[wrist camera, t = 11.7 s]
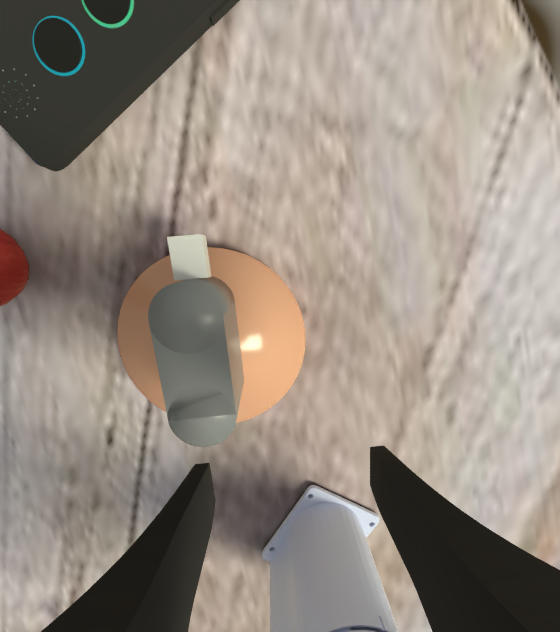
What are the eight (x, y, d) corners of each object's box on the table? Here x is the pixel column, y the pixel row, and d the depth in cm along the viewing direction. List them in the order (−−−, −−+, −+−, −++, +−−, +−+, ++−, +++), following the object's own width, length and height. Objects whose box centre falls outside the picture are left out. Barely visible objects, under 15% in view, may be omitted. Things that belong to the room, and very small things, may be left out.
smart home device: (-74, 46, 15) (184, -245, 13) (-39, 68, 16) (194, -186, 14) (42, 171, 16) (288, -69, 14) (63, 180, 18) (286, -35, 16)
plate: (250, 441, 23) (249, 451, 22) (97, 368, 21) (87, 375, 20) (336, 307, 21) (340, 310, 19) (174, 210, 18) (168, 207, 17)
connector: (246, 399, 21) (239, 443, 16) (196, 404, 21) (173, 449, 16) (227, 236, 18) (211, 228, 13) (168, 241, 18) (131, 235, 13)
